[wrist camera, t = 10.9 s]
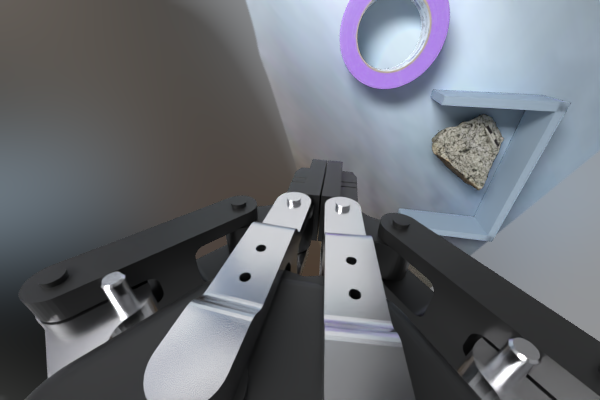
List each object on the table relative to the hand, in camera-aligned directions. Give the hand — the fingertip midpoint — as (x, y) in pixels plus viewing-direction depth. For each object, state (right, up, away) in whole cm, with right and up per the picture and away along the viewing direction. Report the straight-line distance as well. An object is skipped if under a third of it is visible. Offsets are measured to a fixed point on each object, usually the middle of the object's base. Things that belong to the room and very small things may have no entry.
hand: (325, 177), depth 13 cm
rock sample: (+22, +7, +23) cm, 33 cm away
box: (+22, +4, +25) cm, 34 cm away
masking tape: (+10, +20, +18) cm, 29 cm away
